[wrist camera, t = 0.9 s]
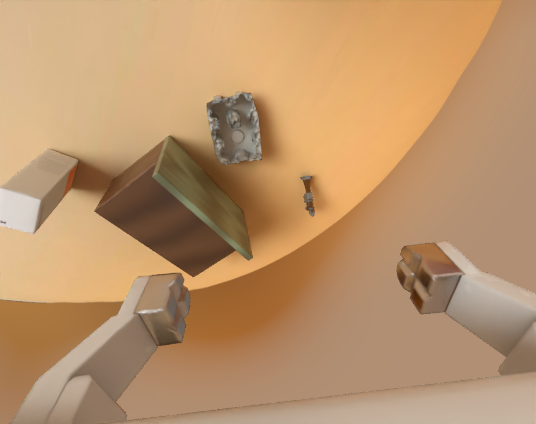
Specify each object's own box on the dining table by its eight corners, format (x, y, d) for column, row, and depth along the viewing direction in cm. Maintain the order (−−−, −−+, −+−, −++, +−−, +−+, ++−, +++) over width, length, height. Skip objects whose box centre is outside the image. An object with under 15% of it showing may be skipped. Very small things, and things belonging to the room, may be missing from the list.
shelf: (112, 180, 43) (83, 229, 33) (169, 135, 41) (157, 172, 31) (194, 244, 55) (192, 295, 45) (243, 212, 52) (253, 257, 42)
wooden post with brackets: (303, 213, 55) (309, 218, 50) (297, 176, 53) (302, 178, 48) (311, 211, 55) (318, 216, 50) (305, 174, 53) (311, 176, 48)
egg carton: (259, 153, 46) (264, 162, 43) (217, 159, 45) (218, 170, 42) (253, 88, 39) (257, 94, 36) (204, 94, 38) (204, 101, 35)
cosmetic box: (72, 189, 43) (34, 235, 33) (40, 178, 41) (-9, 225, 31) (80, 159, 40) (42, 200, 31) (47, 146, 38) (-4, 186, 29)
